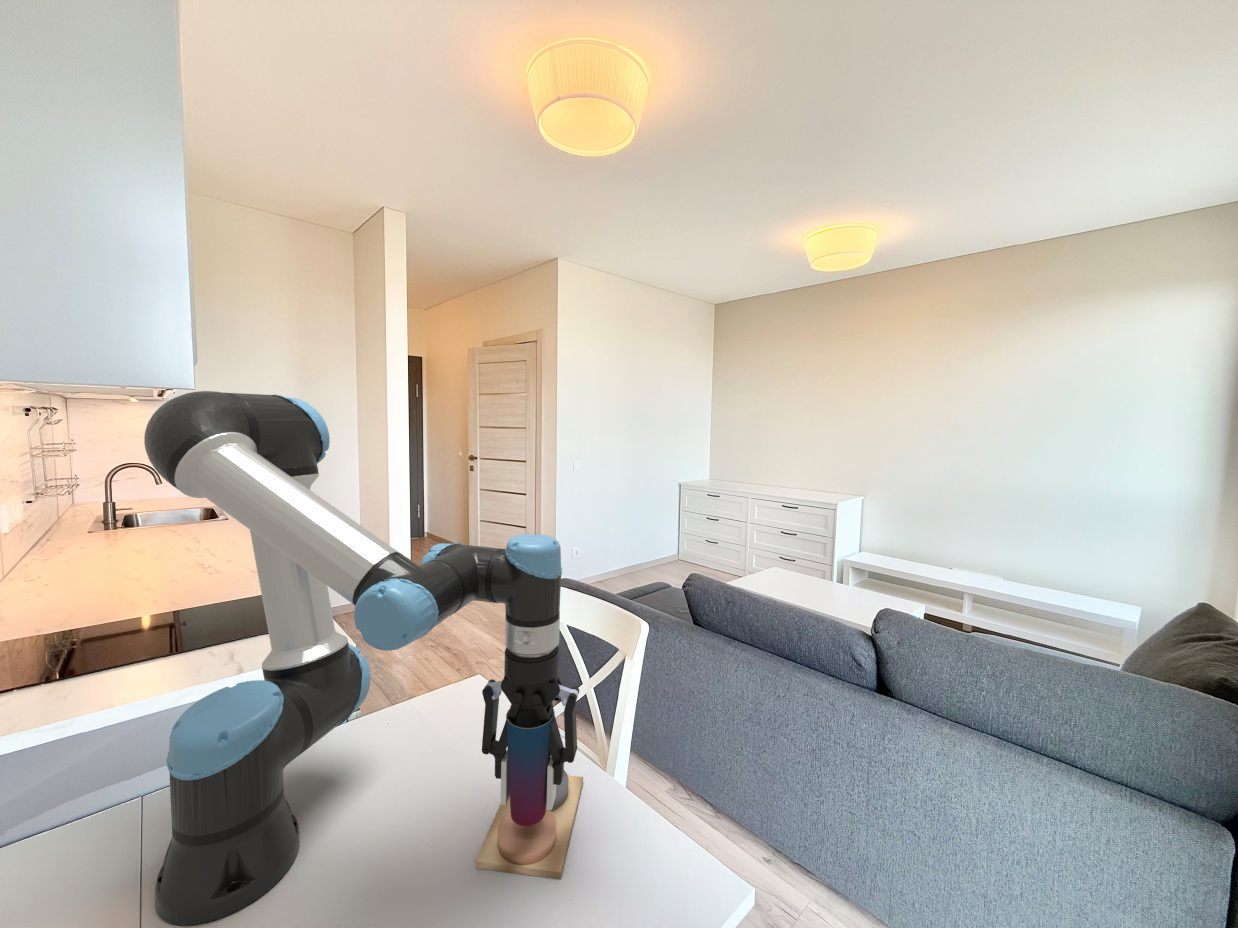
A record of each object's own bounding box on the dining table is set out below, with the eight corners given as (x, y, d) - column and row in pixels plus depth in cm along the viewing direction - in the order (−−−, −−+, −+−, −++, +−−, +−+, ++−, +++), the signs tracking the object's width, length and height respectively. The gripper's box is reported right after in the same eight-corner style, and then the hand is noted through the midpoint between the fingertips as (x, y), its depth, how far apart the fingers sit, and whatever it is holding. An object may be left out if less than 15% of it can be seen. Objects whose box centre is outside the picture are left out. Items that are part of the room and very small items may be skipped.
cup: (496, 826, 68) (497, 724, 67) (515, 790, 75) (517, 697, 74) (542, 835, 67) (544, 732, 66) (558, 798, 73) (561, 703, 72)
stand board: (475, 867, 67) (475, 847, 67) (515, 774, 85) (515, 758, 85) (560, 878, 66) (561, 858, 66) (583, 782, 84) (583, 765, 84)
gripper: (455, 653, 66) (454, 813, 68) (595, 664, 64) (589, 828, 66) (477, 629, 73) (475, 774, 75) (602, 639, 72) (597, 787, 74)
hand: (528, 799), depth 71 cm, fingers closed on cup, 6 cm apart
